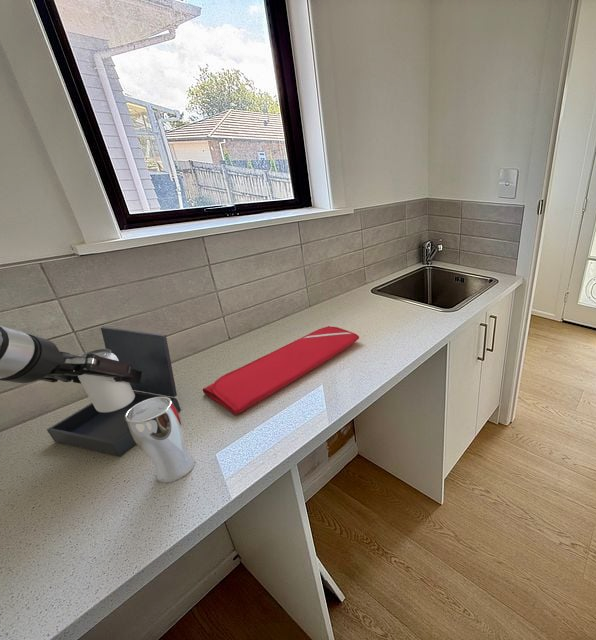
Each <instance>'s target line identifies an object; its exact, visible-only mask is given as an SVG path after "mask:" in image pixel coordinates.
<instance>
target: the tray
mask: <svg viewBox="0 0 596 640" xmlns="http://www.w3.org/2000/svg"><path fill="white" fill-rule="evenodd" d="M133 392H134V394H135V398H134V400H133V401H132V402H131V403H130V404H129V405H128V406H126V407H124V408H122V409H120V410H117V411H114V412H109V413H102V412H98V411H97V410H96V409H95V407H94V405H93V404H92V402H91V403H89V404H88V405H85V406H84V407H82V408H80V409H79V410H77V411H75V412H74V413H72V414H71V415H69V416H67V417H66V418H63V419H62V420H61V421H59V422H57V423H55V424H54V425H52V426H50V427H49V428H47V429H46V431H47V433H48V434H49V436H50V437H51V439H52V441H53V442H54V443H56V444H60V445H65V446H69V447H74V448H79V449H82V450H83V449H84V450H87V451H92V452H96V453H100V454H105V455H110V456H115V457H118V458H121V457H122V456H124V455H125V454H127V453H128V452H129V451H130V450H131V449H133V448H134V447H135V446H137V444H136V443H135V441H134V439H133V438H132V435H131V433H130V431H129V428H128V425H127V422H126V420H125V414H126V412H127V411H128V410H129V409H130V408H131V407H133V406H134V405H136V404H138V403H140V402H142V401H144V400H147V399H150V398H154V397H168V398H170V399H171V401H172V403H173V405H174V407H175V408H176V410H177V412H178V413H179V412H181V411H182V408H181V406H180V404H179V401H178V399H177V397H170V396H165V395H159V394H153V393H147V392H142V391H136V390H133Z"/></svg>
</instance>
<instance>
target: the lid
mask: <svg viewBox="0 0 596 640" xmlns="http://www.w3.org/2000/svg"><path fill="white" fill-rule="evenodd" d="M100 330H101V335H102V339H103V343H104V347H105V348H104V349H109V350H111V353H113V354H114V355H116V356H117V358H118V360H119V361H120V362H124V363H129V364H132V368H131V369H134V370H138V371H142V375H141V380H140V384H133V383H130V385H131V387H132V390H133V391H138V392H144V393H150V394H155V395H161V396H167V397H173V398H176V397H177V396H178V392H177V389H176V388H177V387H176V382H175V375H174V372H173V366H172V360H171V354H170V348H169V345H168V338H167V335H166V334H161V333H160V334H159V333H153V332H145V331H138V330H132V329H131V330H130V329H123V328H115V327H107V326H103V327H100Z"/></svg>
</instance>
